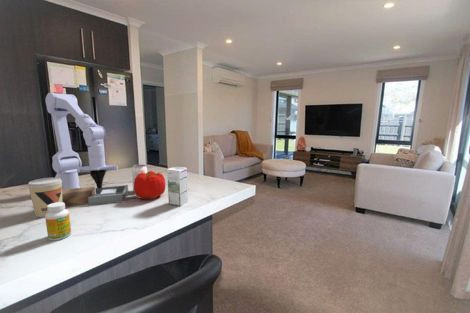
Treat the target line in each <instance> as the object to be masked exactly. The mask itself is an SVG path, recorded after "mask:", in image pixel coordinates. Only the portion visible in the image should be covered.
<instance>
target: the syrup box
mask: <svg viewBox="0 0 470 313" xmlns="http://www.w3.org/2000/svg"><path fill="white" fill-rule="evenodd" d="M187 170H188V168H187V167H184V166H183V167H181V166H173V167H169V168H168V169H166V173H167V174H166V176H167V190H168V191H167V194H168V196H167V197H168V205H171V206H177V207H182V206H184V205H185V204H186V203H188V202H189V199H188V198H189V196H188V172H187ZM187 201H188V202H187ZM184 203H185V204H184Z"/></svg>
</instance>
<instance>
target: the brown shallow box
mask: <svg viewBox="0 0 470 313" xmlns="http://www.w3.org/2000/svg"><path fill="white" fill-rule="evenodd" d="M95 188H96V186H88V187H82V188H74V189H62V202H64V203H65V207H68V206H77V205H87V204H88V205H89V202H88V197H94V196H95V194H96V190H95Z"/></svg>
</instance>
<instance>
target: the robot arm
mask: <svg viewBox="0 0 470 313" xmlns="http://www.w3.org/2000/svg"><path fill="white" fill-rule="evenodd" d="M44 100H45V105H46V110H47V113H49V114H50V115H51V117H52V122H53V127H54V128H53V129H54V134H55V139H56V144H57V149H58V151H57V152H56V153H55V154H54V155H53V156H52V158H51V159H52V164H51V165H52V169H53V170H54V172H55V173H56V175H55V178H60V179H61V180H62V189H74V188H83V186H81V187H80V181H79V173H80V174H81V173H88V172H90V173H89V175H90V177H91V178H92V180H93V181H94V183H95V185H96V188H98V189H99V188H102V187H103V183H104V182H103V181H104V178H105V175H106V173H107V171H118V170H119V168H118V164H107V163H106V157H105V156H106V154H105V145H104V140H105V139H106V137H107V132H106V129H105V127H104V126H102V125H99V124H97V123H96V122H95V121H94V119H92V117H91V116H90V115H89V114H86V113H84V112H83V110H82V109H81V108H80V106H79V105H78V98H77V97H76V96H75V95H74V94H68V93H67V94H66V93H57V92H56V93H54V92H48V93H47V95H46V97H45V99H44ZM69 114H70V115H72V116H73V117H74V122H75V124H76V125H77V126H78V128H79V129H80V130H81V131H82V132H83V133H82V135H83V140H84V141H85V145H86V146H87V152H88V153H87V154H88V163H89V164H88V165H89V166H88V165H87V166H82V164H83V163H82V160H81V158H80V154H79V153H78V152H76V151H74V150H73V149H72V148H73V147H72V143H71V136H70V131H69V126H68V121H67V115H69Z"/></svg>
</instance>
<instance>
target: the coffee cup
mask: <svg viewBox="0 0 470 313" xmlns="http://www.w3.org/2000/svg"><path fill="white" fill-rule="evenodd" d="M27 187H28V190H29V195H30V199H31V204H32V208H33V211H34V214H35V217H37V218H45V215H46V214H47V213H48V212H49V211H48V210H47V206H48V205H49V204H52V203H56V202H62V180H61V179H60V178H55V177H53V176H52V177H43V178H37V179H34V180H31V181H28V183H27Z"/></svg>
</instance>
